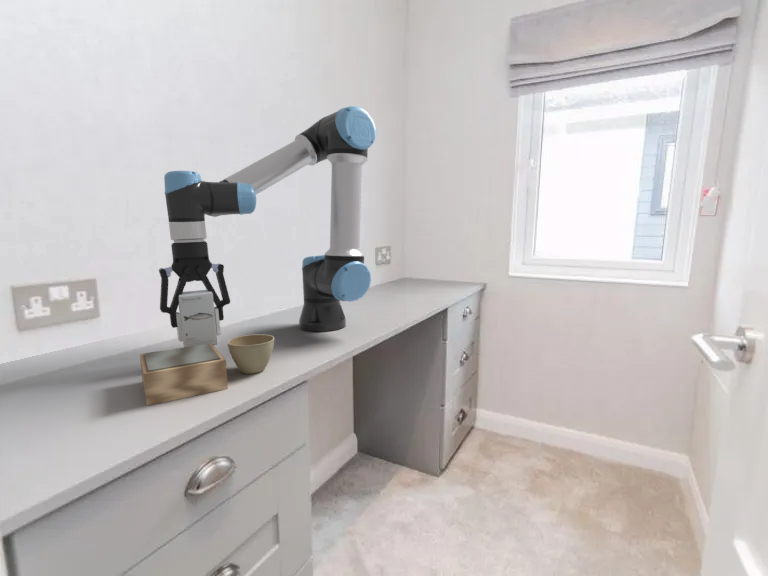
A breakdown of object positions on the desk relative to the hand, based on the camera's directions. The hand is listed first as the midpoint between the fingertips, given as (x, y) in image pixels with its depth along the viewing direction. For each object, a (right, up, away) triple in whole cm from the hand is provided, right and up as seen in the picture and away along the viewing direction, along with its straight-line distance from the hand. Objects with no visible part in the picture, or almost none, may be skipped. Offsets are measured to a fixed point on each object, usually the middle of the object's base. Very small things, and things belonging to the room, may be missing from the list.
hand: (199, 336), depth 96 cm
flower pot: (+14, -7, -5) cm, 17 cm away
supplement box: (0, -2, 0) cm, 2 cm away
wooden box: (+3, -8, -14) cm, 16 cm away
